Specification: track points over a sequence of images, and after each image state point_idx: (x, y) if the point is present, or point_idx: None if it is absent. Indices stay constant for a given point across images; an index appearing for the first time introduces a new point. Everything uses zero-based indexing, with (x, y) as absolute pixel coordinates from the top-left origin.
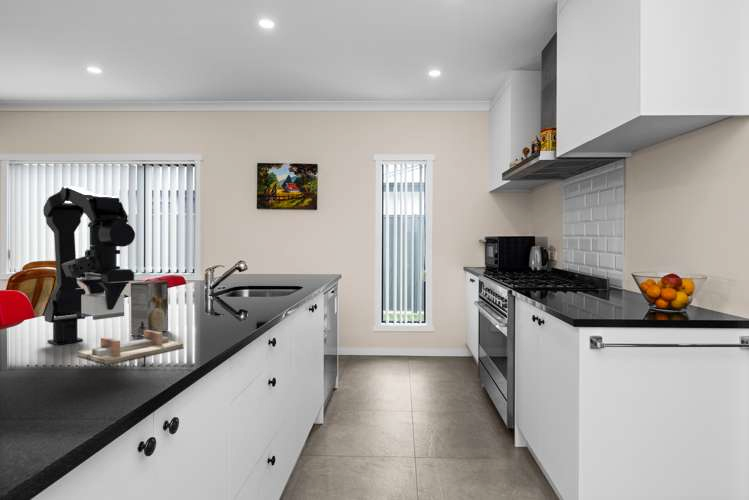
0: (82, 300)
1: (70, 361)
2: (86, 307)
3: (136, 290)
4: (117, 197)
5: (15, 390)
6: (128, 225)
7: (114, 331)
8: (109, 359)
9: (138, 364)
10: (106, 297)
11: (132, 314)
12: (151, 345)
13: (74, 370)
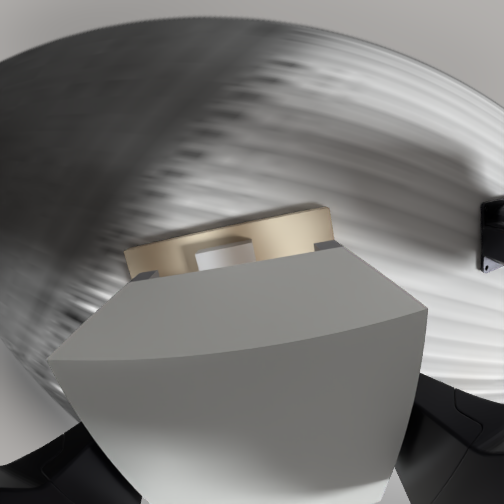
0: (364, 286)
1: (251, 167)
2: (254, 280)
3: None
4: None
5: (63, 48)
6: None
7: (499, 351)
8: (128, 261)
9: (87, 311)
10: (82, 435)
11: None
12: None
13: (124, 158)
